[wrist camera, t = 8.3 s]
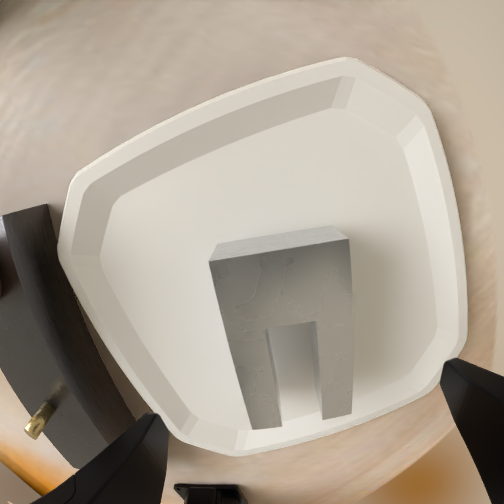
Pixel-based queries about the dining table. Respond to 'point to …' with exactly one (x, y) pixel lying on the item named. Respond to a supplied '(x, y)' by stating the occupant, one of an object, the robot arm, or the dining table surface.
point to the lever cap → (287, 314)
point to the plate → (268, 223)
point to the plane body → (52, 345)
